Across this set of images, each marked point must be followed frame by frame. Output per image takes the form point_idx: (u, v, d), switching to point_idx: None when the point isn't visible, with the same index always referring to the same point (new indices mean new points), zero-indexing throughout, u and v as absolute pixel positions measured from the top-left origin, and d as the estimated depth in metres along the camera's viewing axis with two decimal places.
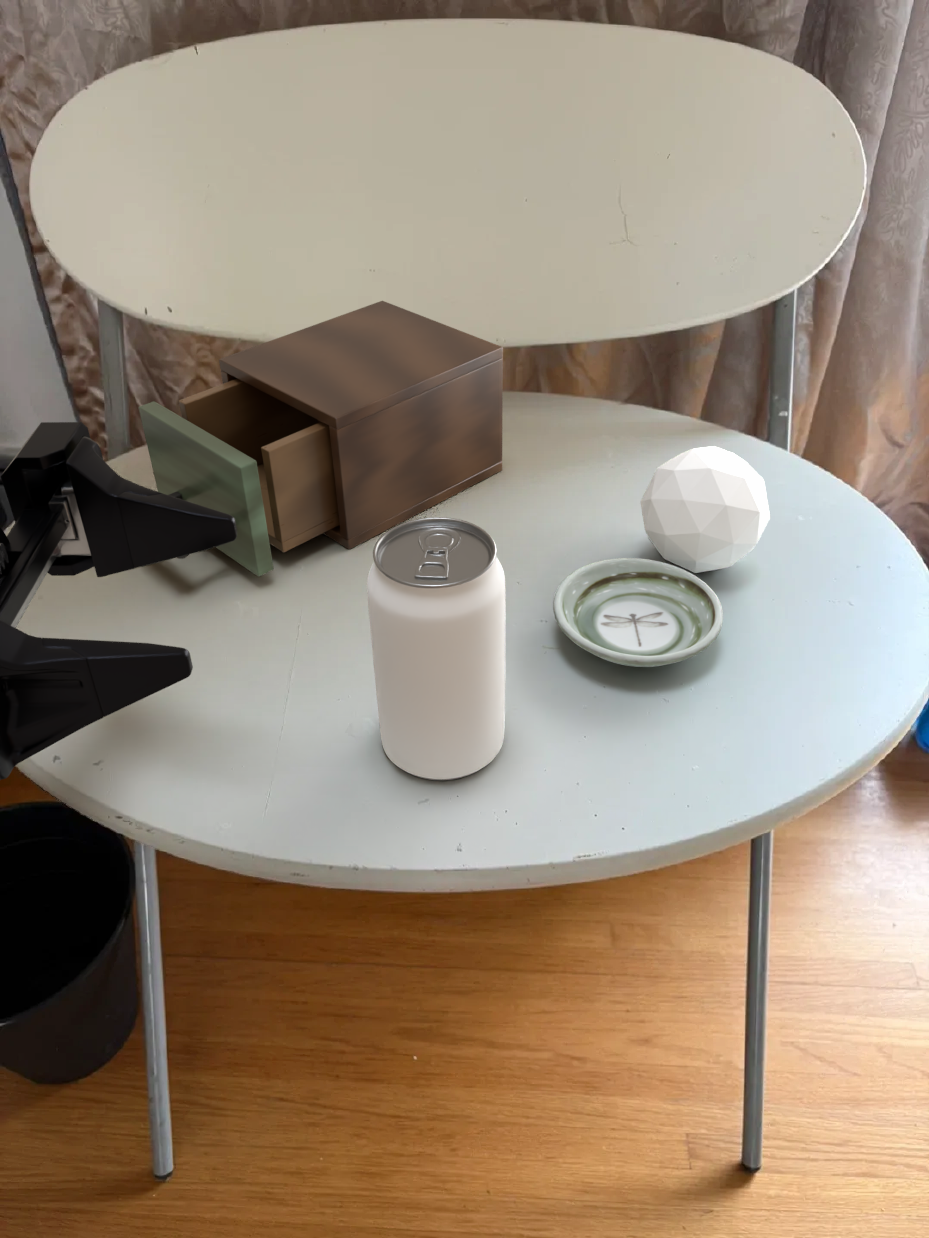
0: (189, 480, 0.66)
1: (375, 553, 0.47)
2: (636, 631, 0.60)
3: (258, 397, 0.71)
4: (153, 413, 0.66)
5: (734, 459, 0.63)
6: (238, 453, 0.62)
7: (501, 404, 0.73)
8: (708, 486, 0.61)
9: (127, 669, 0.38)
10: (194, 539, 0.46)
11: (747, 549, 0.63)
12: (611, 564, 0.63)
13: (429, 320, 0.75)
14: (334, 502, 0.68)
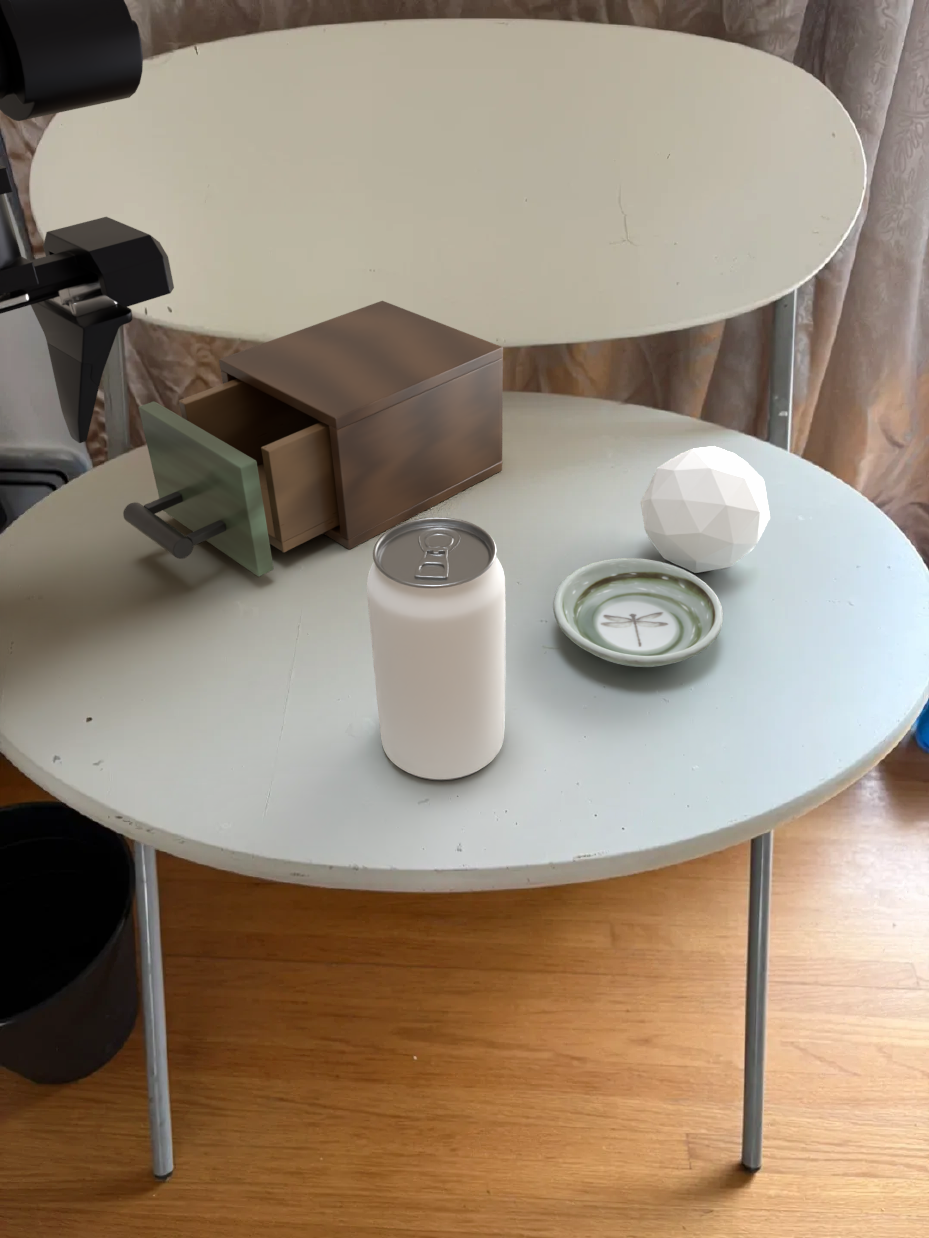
0: (189, 480, 0.66)
1: (375, 553, 0.47)
2: (636, 631, 0.60)
3: (258, 397, 0.71)
4: (153, 413, 0.66)
5: (734, 459, 0.63)
6: (238, 453, 0.62)
7: (501, 404, 0.73)
8: (708, 486, 0.61)
9: None
10: None
11: (747, 549, 0.63)
12: (611, 564, 0.63)
13: (429, 320, 0.75)
14: (334, 502, 0.68)
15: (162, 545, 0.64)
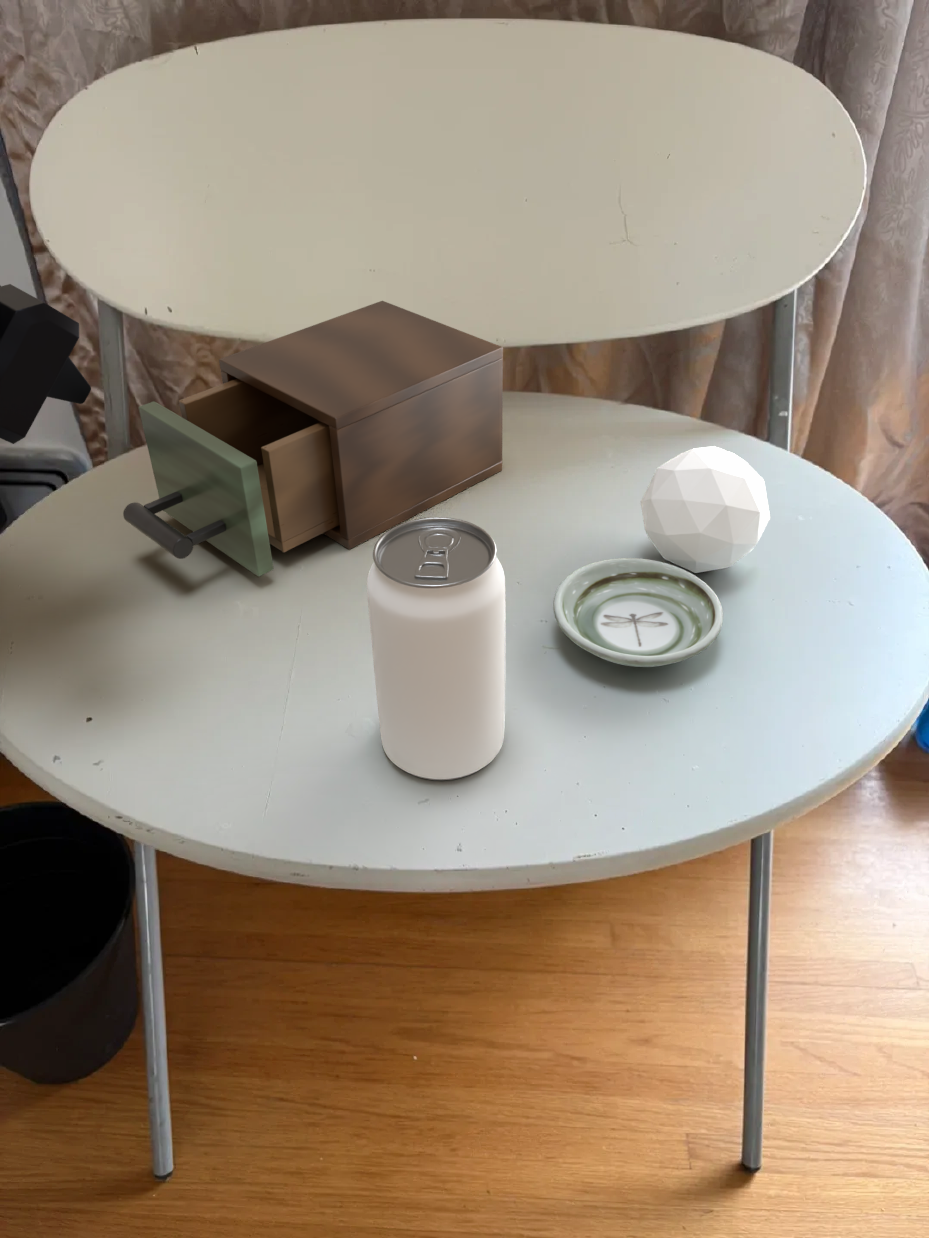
0: (189, 480, 0.66)
1: (375, 553, 0.47)
2: (636, 631, 0.60)
3: (258, 397, 0.71)
4: (153, 413, 0.66)
5: (734, 459, 0.63)
6: (238, 453, 0.62)
7: (501, 404, 0.73)
8: (708, 486, 0.61)
9: None
10: None
11: (747, 549, 0.63)
12: (611, 564, 0.63)
13: (429, 320, 0.75)
14: (334, 502, 0.68)
15: (162, 545, 0.64)
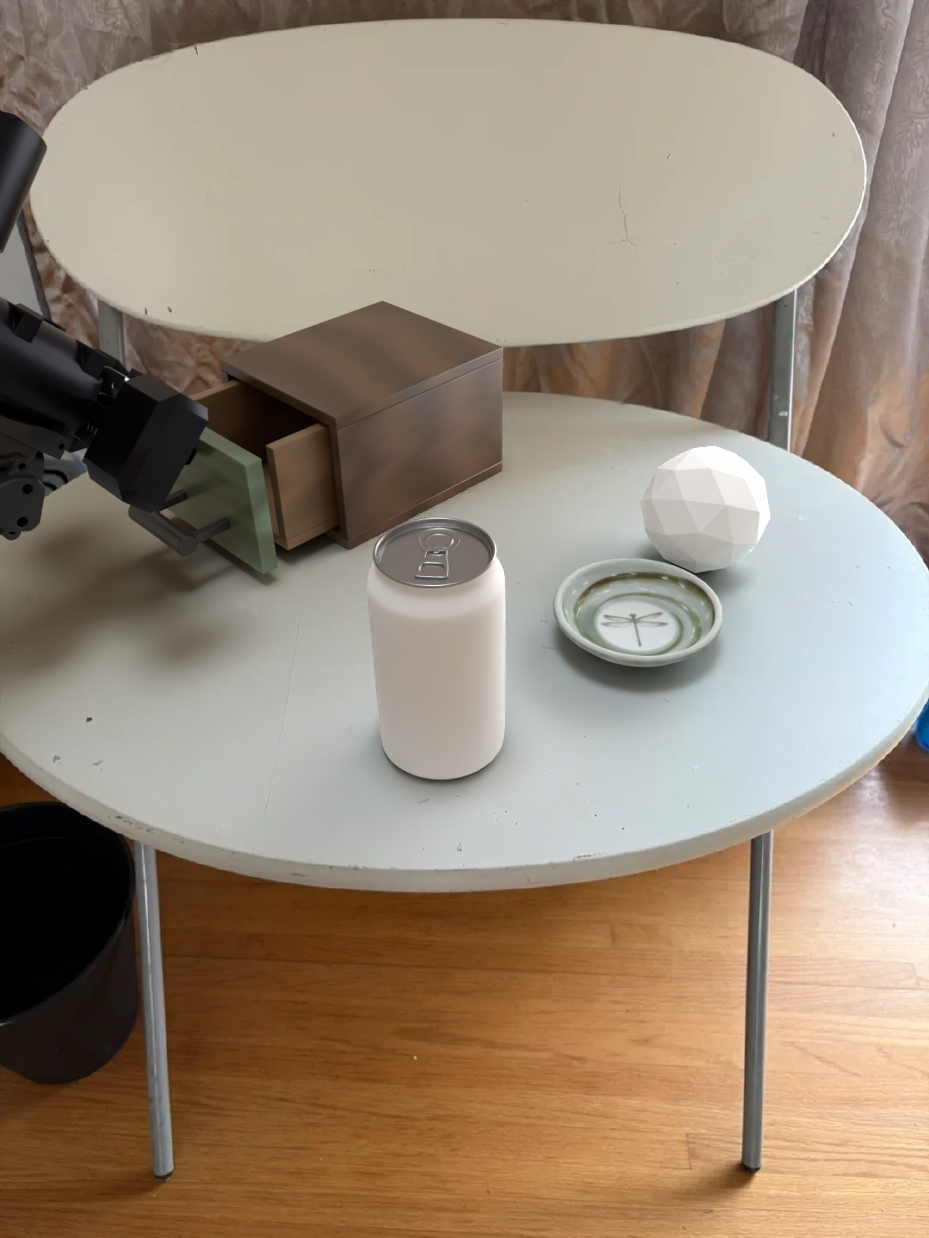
0: (193, 478, 0.66)
1: (375, 553, 0.47)
2: (636, 631, 0.60)
3: (262, 396, 0.72)
4: None
5: (734, 459, 0.63)
6: (243, 451, 0.62)
7: (501, 404, 0.73)
8: (708, 486, 0.61)
9: None
10: None
11: (747, 549, 0.63)
12: (611, 564, 0.63)
13: (429, 320, 0.75)
14: None
15: (167, 543, 0.64)
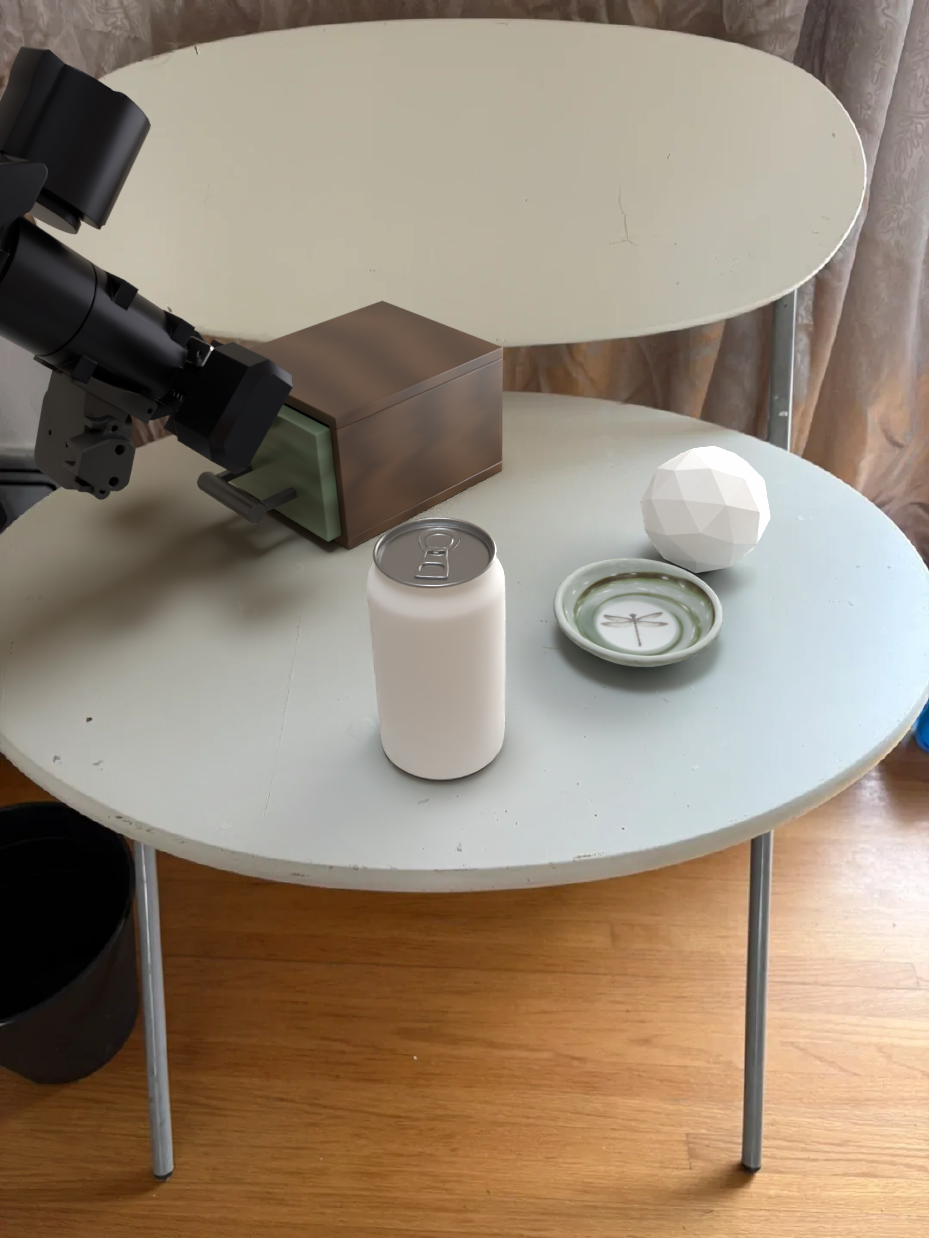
0: (260, 450, 0.69)
1: (375, 553, 0.47)
2: (636, 631, 0.60)
3: None
4: None
5: (735, 459, 0.63)
6: (312, 421, 0.65)
7: (501, 404, 0.73)
8: (708, 486, 0.61)
9: None
10: None
11: (747, 549, 0.63)
12: (611, 564, 0.63)
13: (429, 320, 0.75)
14: None
15: (237, 511, 0.67)
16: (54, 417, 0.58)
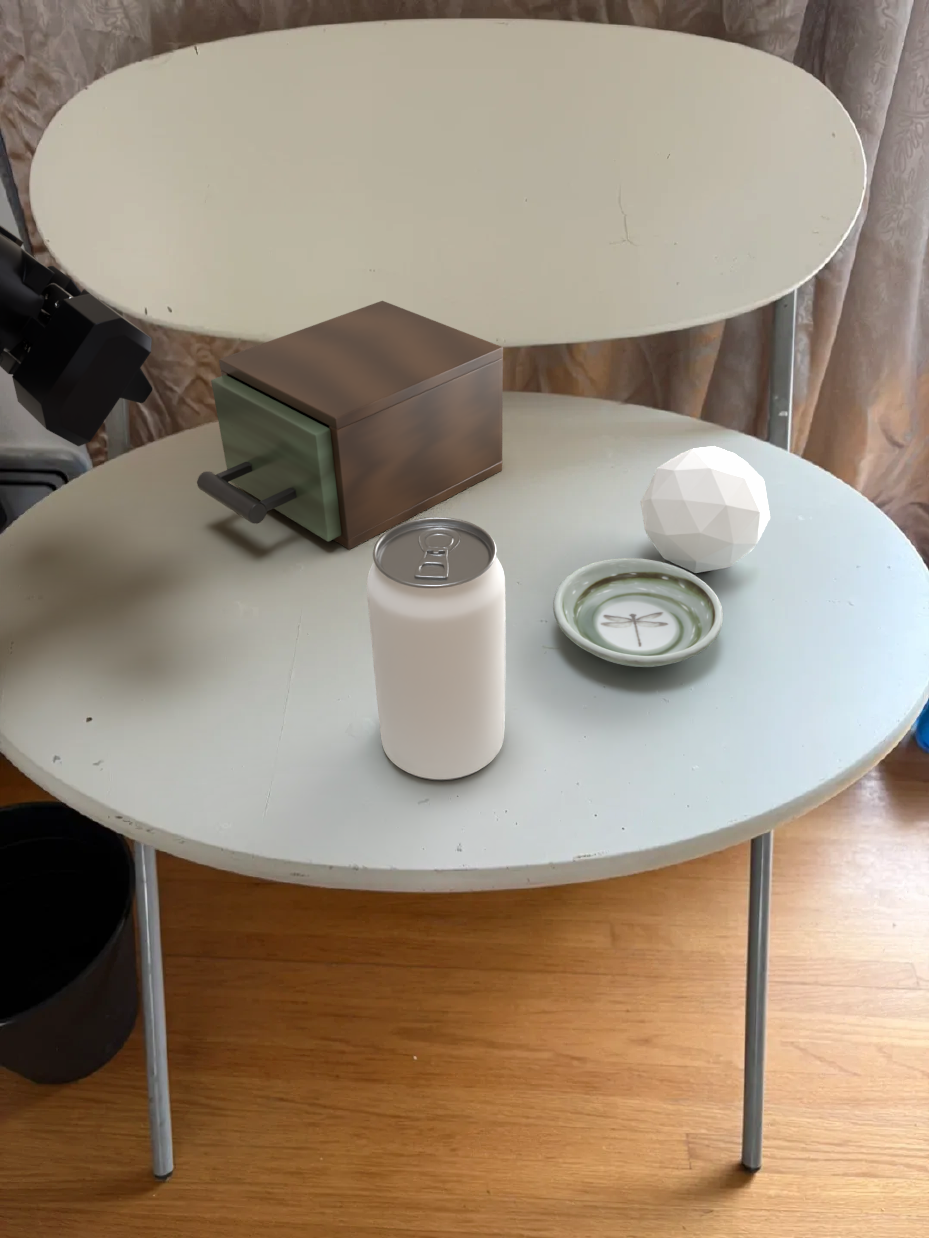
0: (260, 450, 0.69)
1: (375, 553, 0.47)
2: (636, 631, 0.60)
3: None
4: (226, 386, 0.69)
5: (734, 459, 0.63)
6: (312, 421, 0.65)
7: (501, 404, 0.73)
8: (708, 486, 0.61)
9: None
10: None
11: (747, 549, 0.63)
12: (611, 564, 0.63)
13: (429, 320, 0.75)
14: None
15: (237, 511, 0.67)
16: None
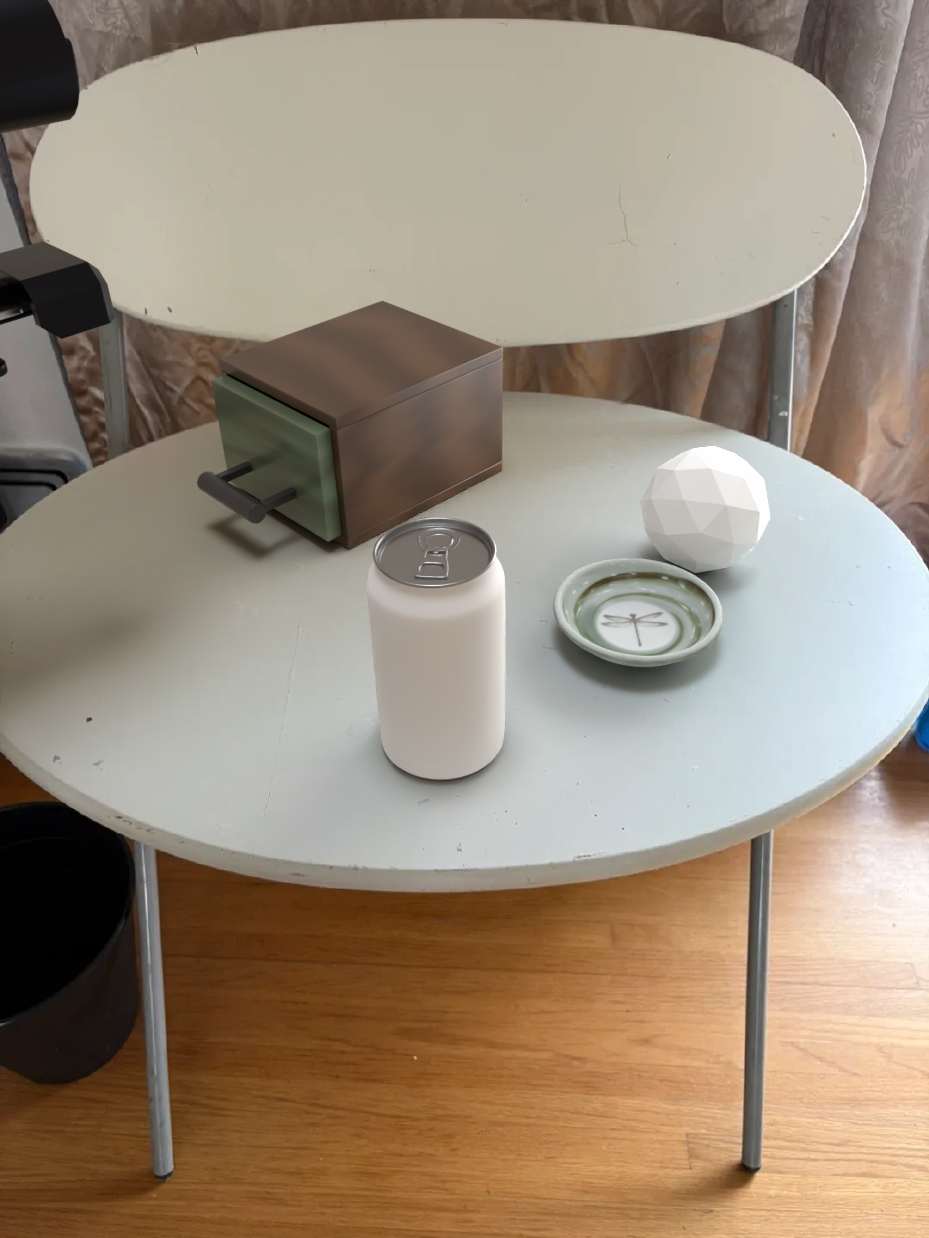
0: (260, 450, 0.69)
1: (375, 553, 0.47)
2: (636, 631, 0.60)
3: None
4: (226, 386, 0.69)
5: (734, 459, 0.63)
6: (312, 421, 0.65)
7: (501, 404, 0.73)
8: (708, 486, 0.61)
9: None
10: None
11: (747, 549, 0.63)
12: (611, 564, 0.63)
13: (429, 320, 0.75)
14: None
15: (237, 511, 0.67)
16: None
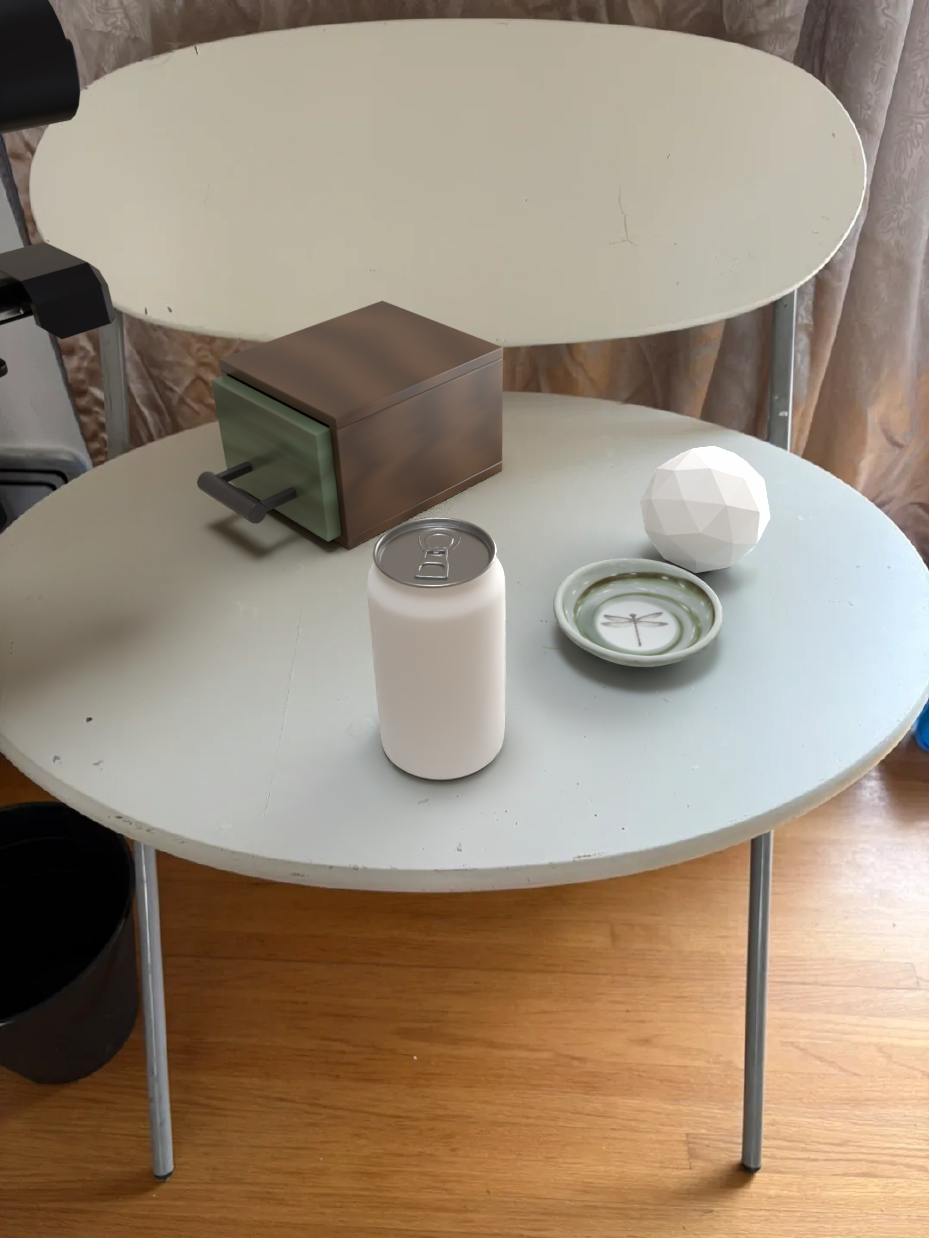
0: (260, 450, 0.69)
1: (375, 553, 0.47)
2: (636, 631, 0.60)
3: None
4: (226, 386, 0.69)
5: (734, 459, 0.63)
6: (312, 421, 0.65)
7: (501, 404, 0.73)
8: (708, 486, 0.61)
9: None
10: None
11: (747, 549, 0.63)
12: (611, 564, 0.63)
13: (429, 320, 0.75)
14: None
15: (237, 511, 0.67)
16: None
